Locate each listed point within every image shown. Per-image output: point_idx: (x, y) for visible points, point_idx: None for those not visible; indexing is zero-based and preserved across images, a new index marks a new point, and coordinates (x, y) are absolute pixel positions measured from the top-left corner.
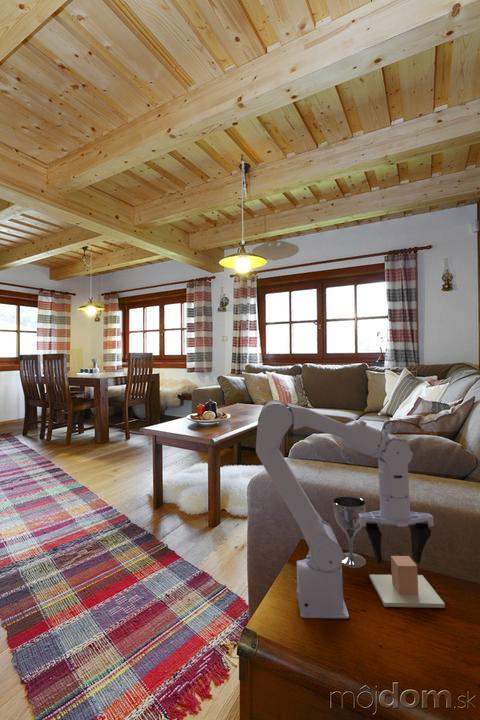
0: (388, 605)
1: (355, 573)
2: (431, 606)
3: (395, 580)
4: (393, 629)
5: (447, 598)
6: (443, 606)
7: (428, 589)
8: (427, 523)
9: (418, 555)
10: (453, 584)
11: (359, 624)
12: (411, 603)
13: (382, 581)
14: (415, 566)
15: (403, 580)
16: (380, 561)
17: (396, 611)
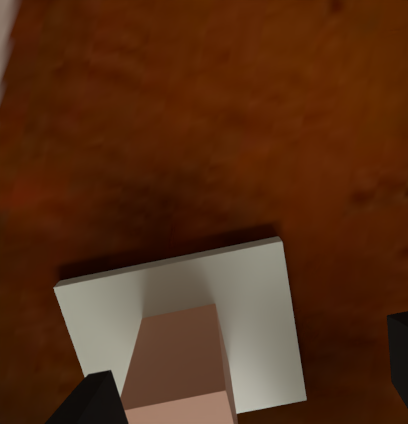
0: (264, 241)
1: (350, 404)
2: (106, 273)
3: (225, 355)
4: (268, 113)
5: (41, 335)
6: (62, 281)
7: (98, 358)
8: None
9: (73, 415)
10: (6, 417)
11: (392, 111)
12: (177, 262)
13: (264, 368)
14: (125, 408)
15: (196, 342)
16: (401, 317)
17: (238, 220)
